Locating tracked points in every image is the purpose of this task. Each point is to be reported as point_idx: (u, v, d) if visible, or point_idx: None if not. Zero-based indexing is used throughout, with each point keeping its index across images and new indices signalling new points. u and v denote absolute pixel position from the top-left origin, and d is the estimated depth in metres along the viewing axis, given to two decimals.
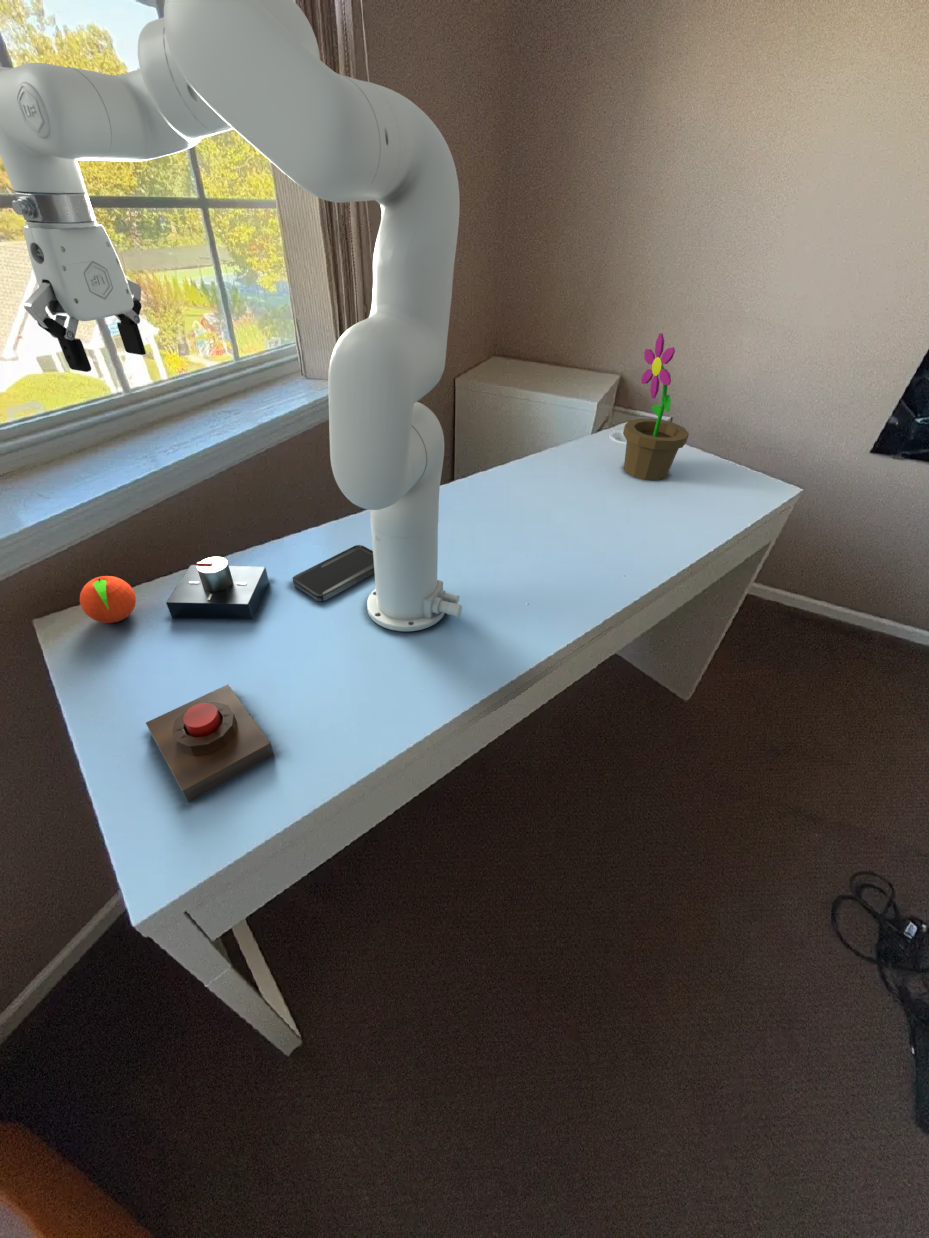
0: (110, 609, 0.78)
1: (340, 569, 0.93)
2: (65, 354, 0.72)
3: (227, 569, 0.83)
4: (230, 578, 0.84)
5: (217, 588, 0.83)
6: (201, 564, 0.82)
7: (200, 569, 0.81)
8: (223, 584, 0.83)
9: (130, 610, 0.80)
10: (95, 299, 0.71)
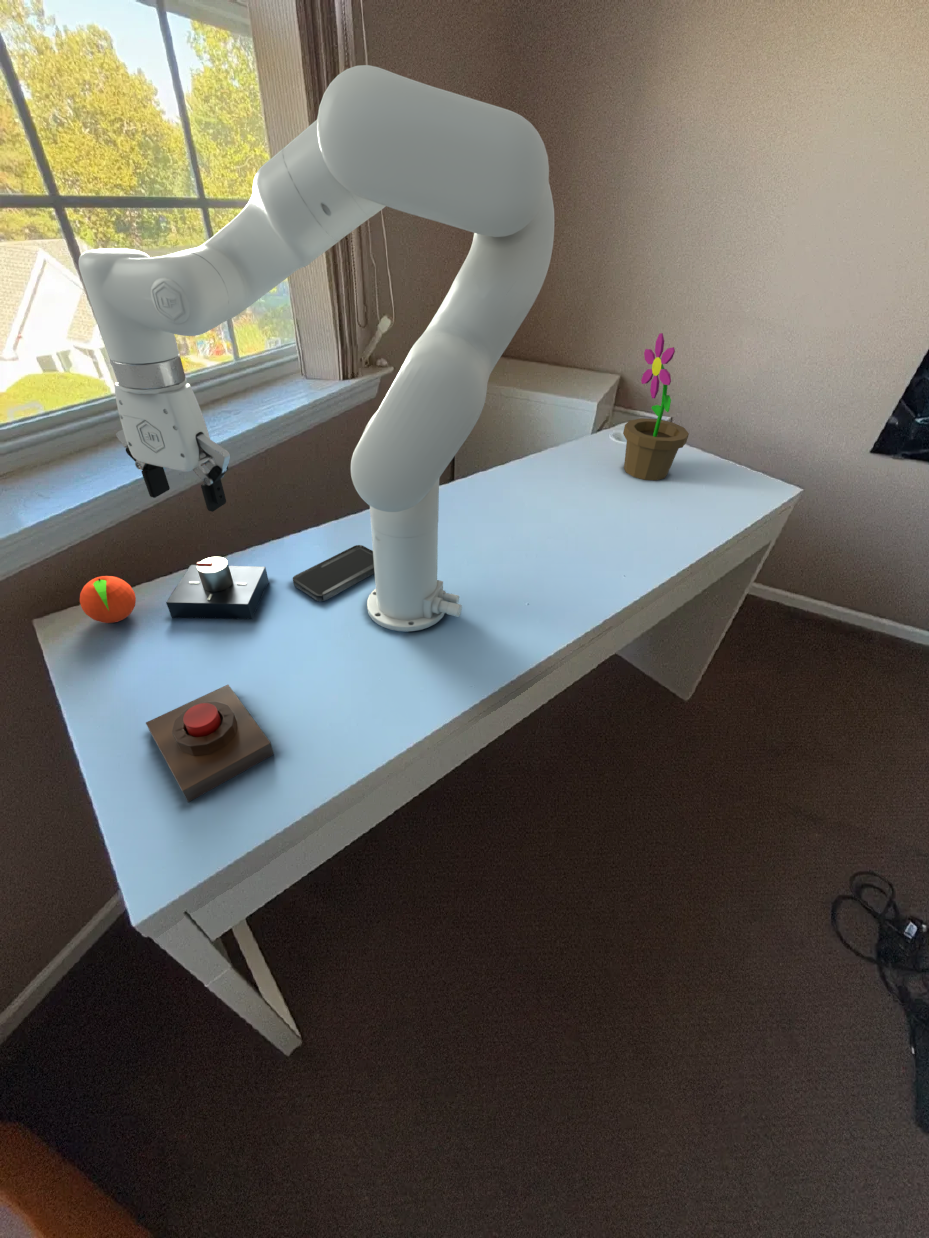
0: (110, 609, 0.78)
1: (340, 569, 0.93)
2: None
3: (227, 569, 0.83)
4: (230, 578, 0.84)
5: (217, 588, 0.83)
6: (201, 564, 0.82)
7: (200, 569, 0.81)
8: (223, 584, 0.83)
9: (130, 610, 0.80)
10: (147, 449, 0.70)
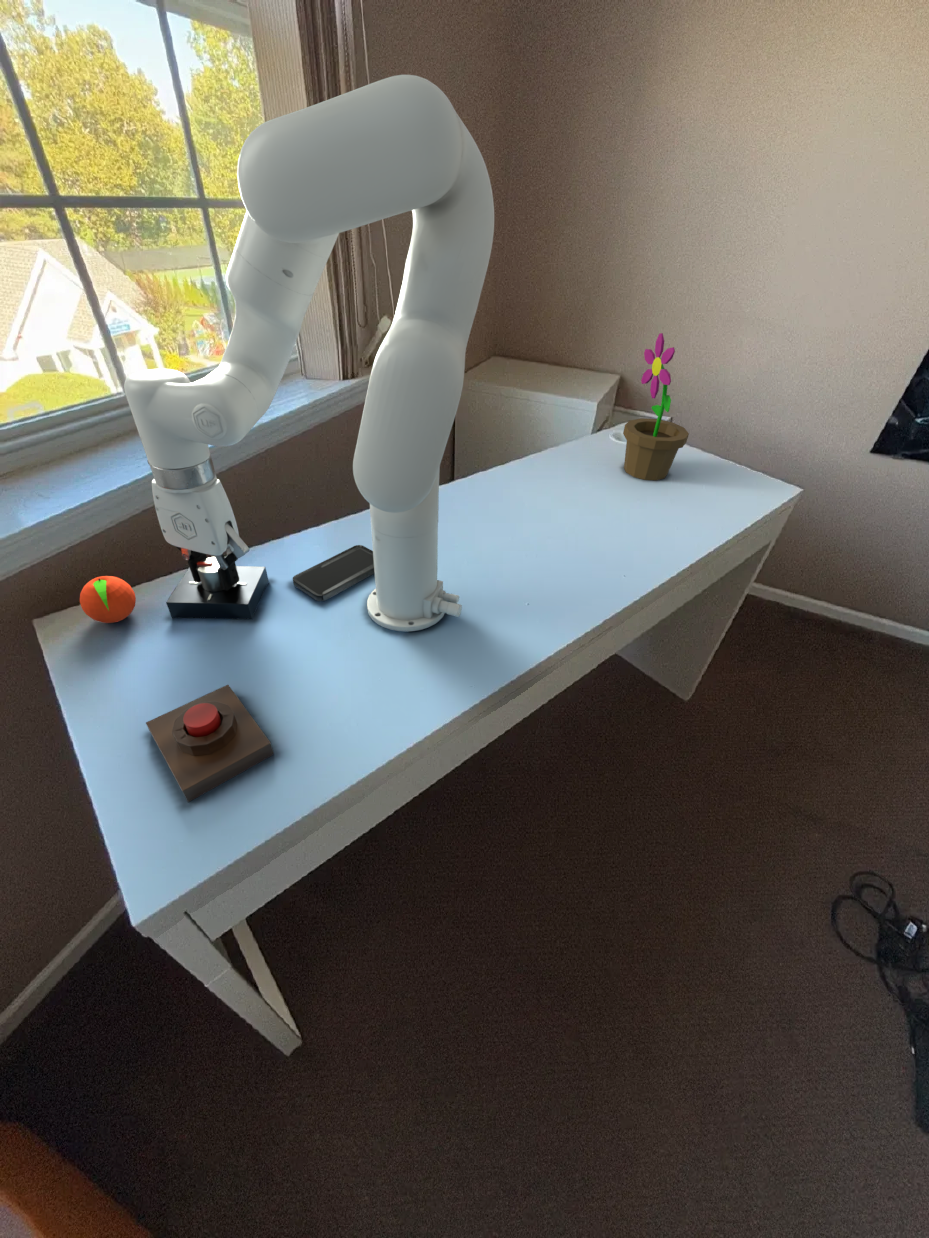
0: (110, 609, 0.78)
1: (340, 569, 0.93)
2: None
3: None
4: None
5: (217, 588, 0.83)
6: (201, 564, 0.82)
7: (200, 569, 0.81)
8: None
9: (130, 610, 0.80)
10: (180, 536, 0.77)
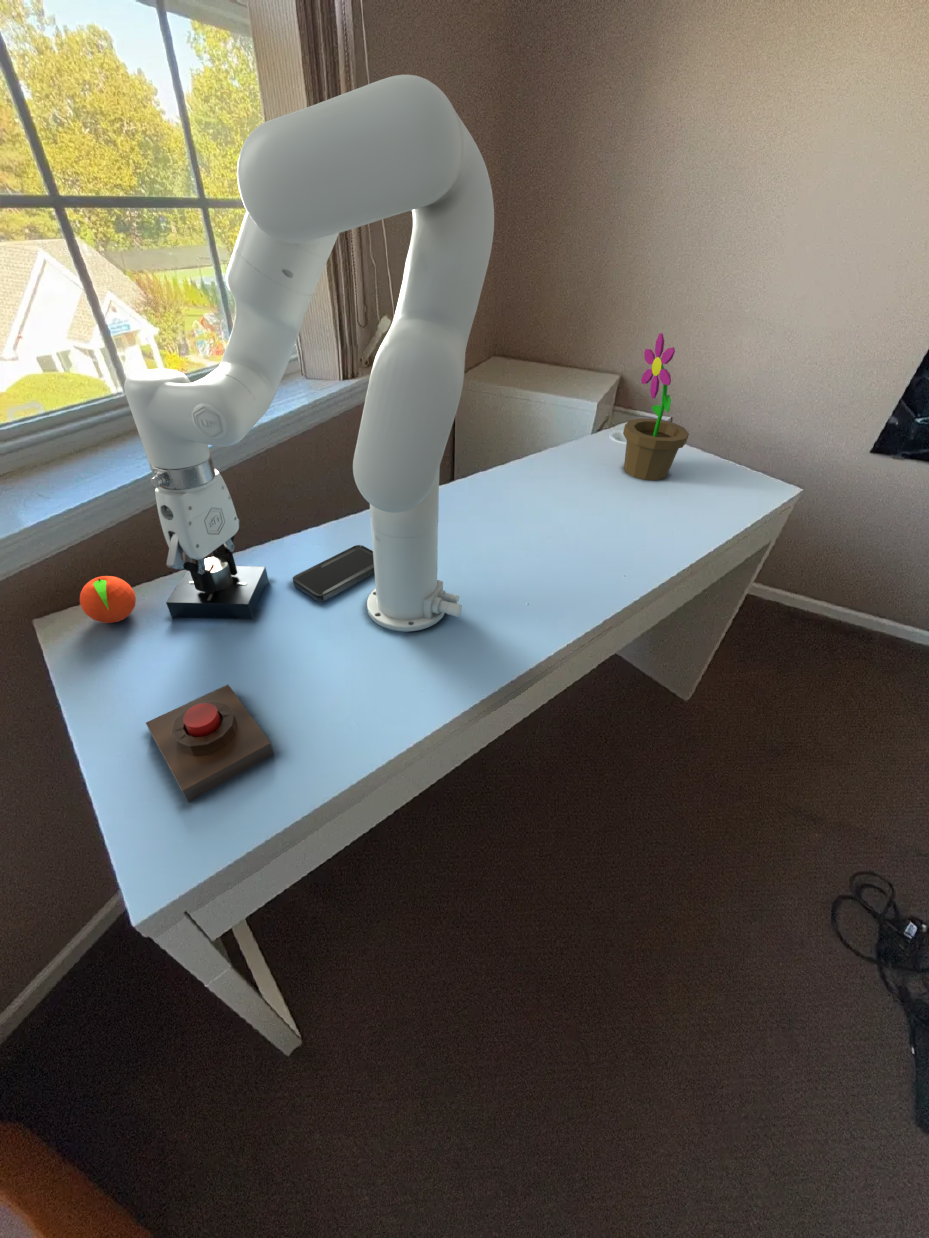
0: (110, 609, 0.78)
1: (340, 569, 0.93)
2: (195, 582, 0.81)
3: None
4: None
5: None
6: (210, 569, 0.81)
7: (218, 569, 0.82)
8: None
9: (130, 610, 0.80)
10: (211, 537, 0.77)
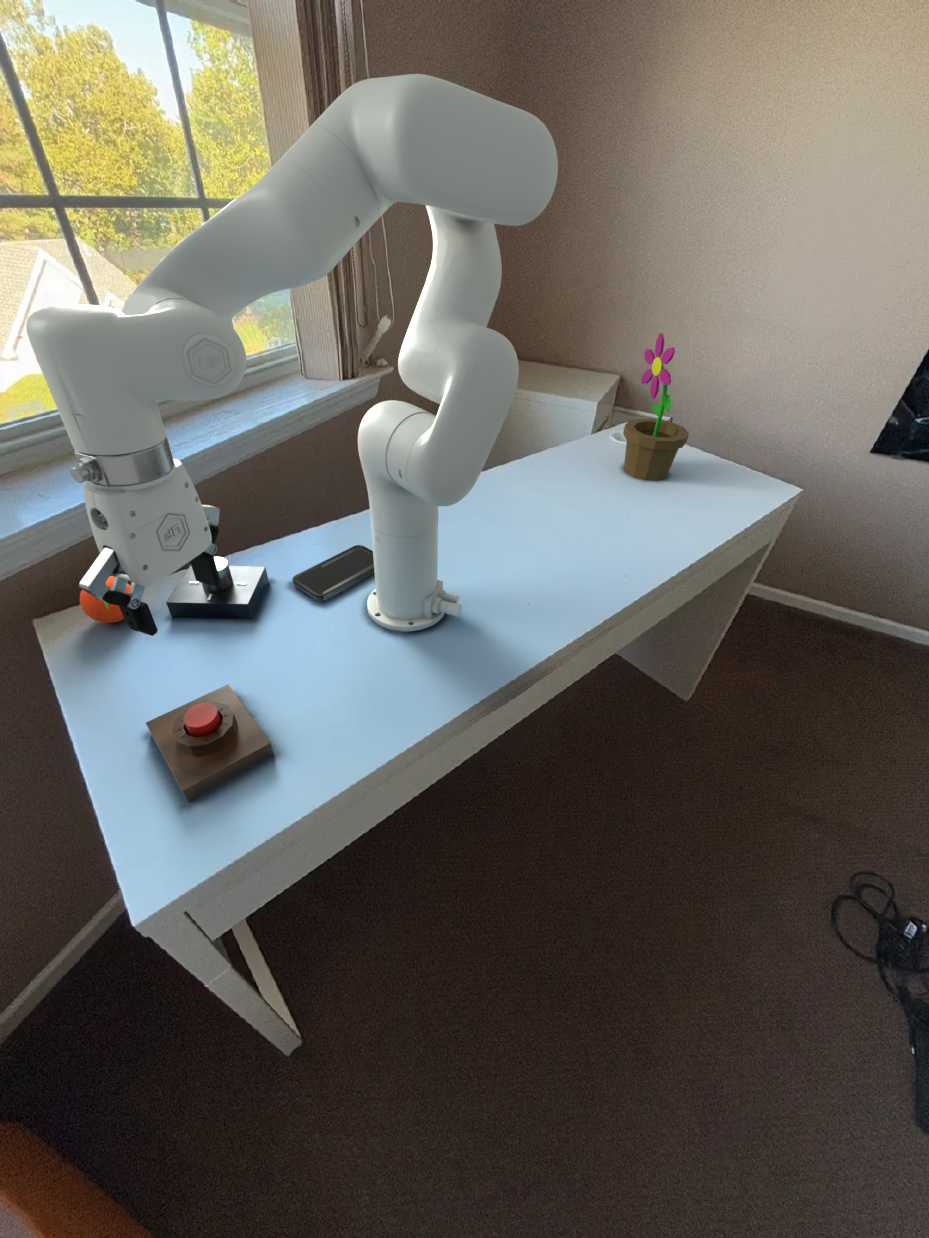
0: (110, 609, 0.78)
1: (340, 569, 0.93)
2: (127, 619, 0.56)
3: None
4: None
5: None
6: None
7: (219, 569, 0.82)
8: None
9: None
10: (168, 555, 0.55)
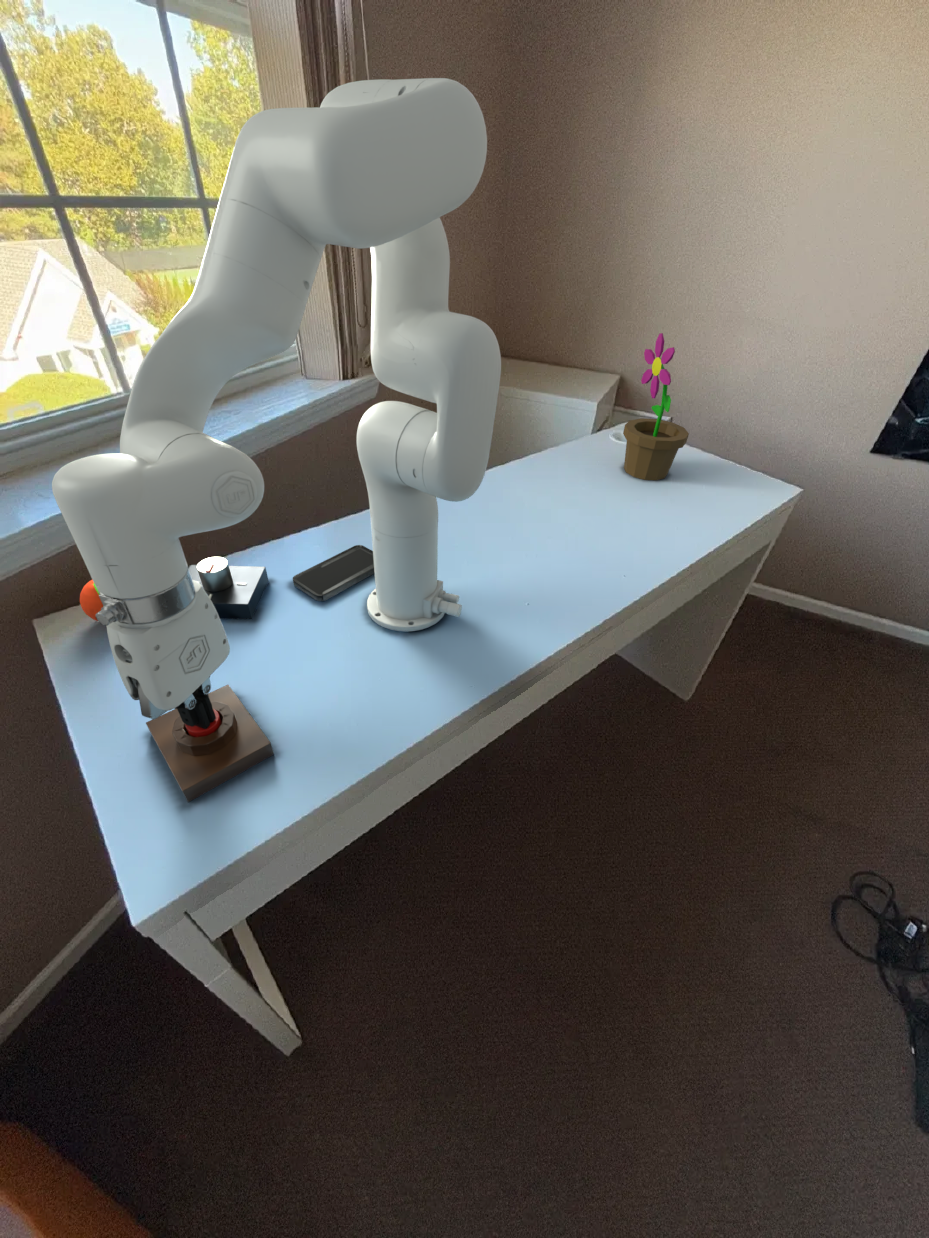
0: None
1: (340, 569, 0.93)
2: (183, 716, 0.60)
3: None
4: None
5: None
6: (210, 569, 0.81)
7: (219, 569, 0.82)
8: None
9: None
10: (190, 676, 0.55)
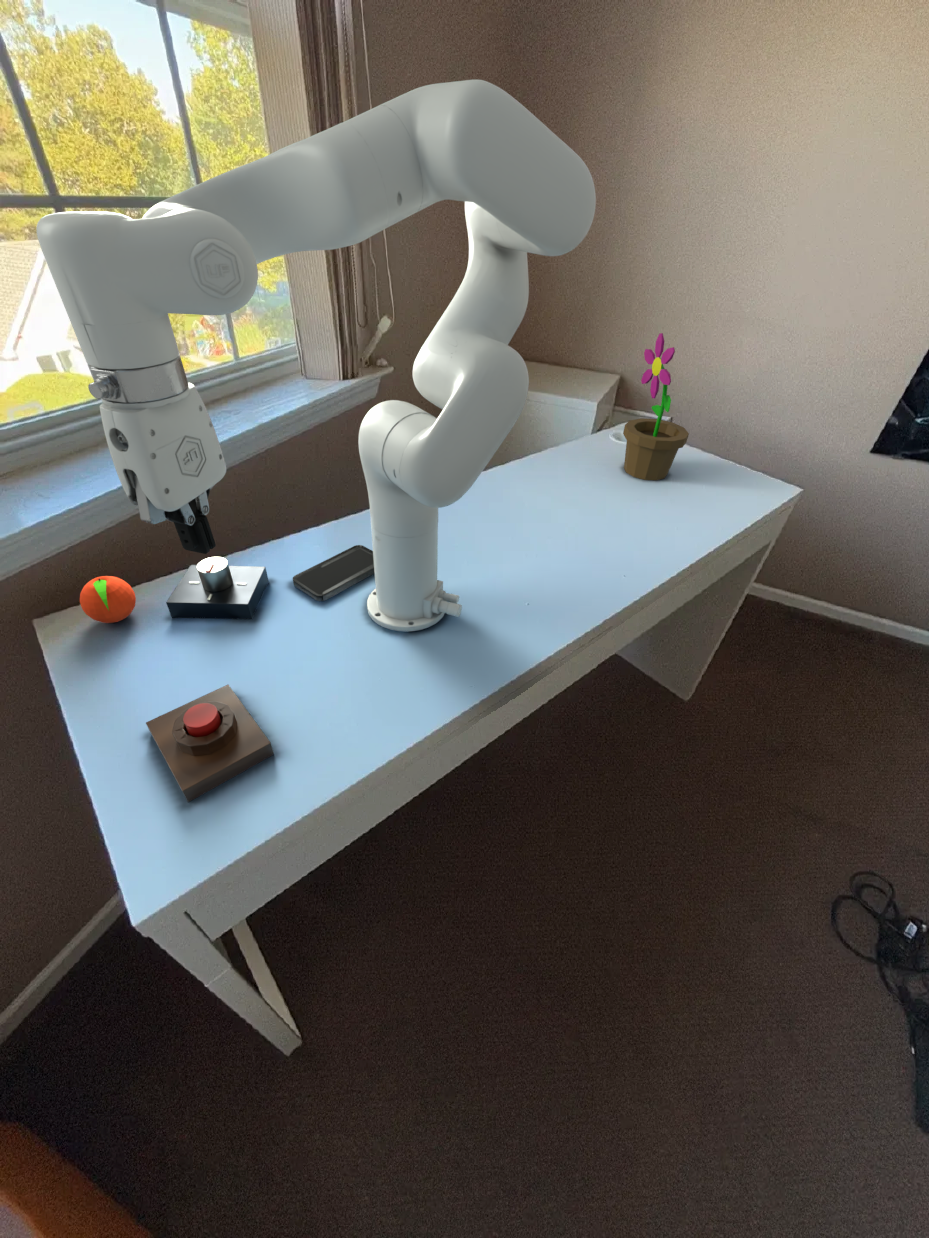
0: (110, 609, 0.78)
1: (340, 569, 0.93)
2: (182, 538, 0.60)
3: None
4: None
5: None
6: (210, 569, 0.81)
7: (219, 569, 0.82)
8: None
9: (130, 610, 0.80)
10: (187, 480, 0.54)
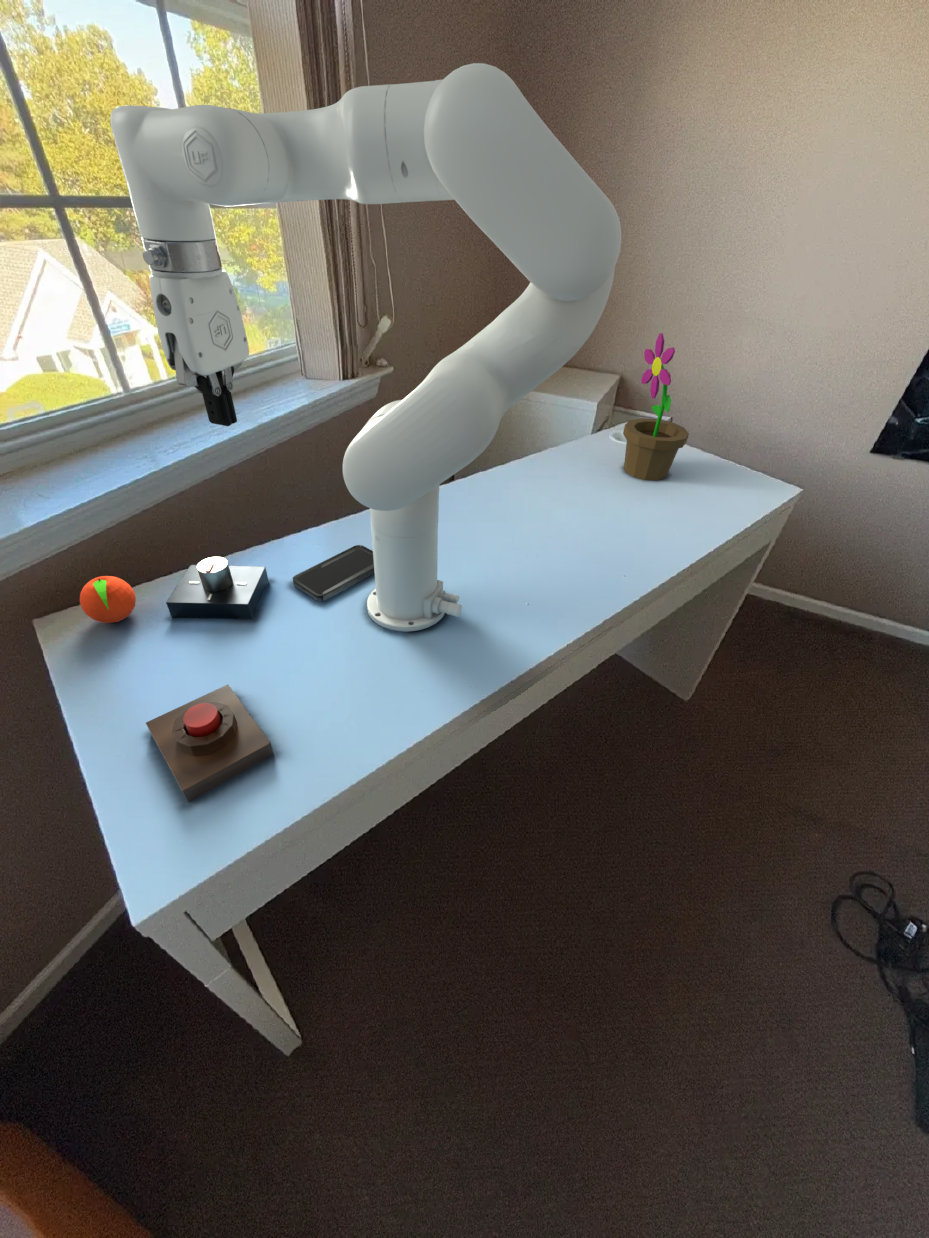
0: (110, 609, 0.78)
1: (340, 569, 0.93)
2: (209, 409, 0.70)
3: None
4: None
5: None
6: (210, 569, 0.81)
7: (219, 569, 0.82)
8: None
9: (130, 610, 0.80)
10: (217, 351, 0.65)
